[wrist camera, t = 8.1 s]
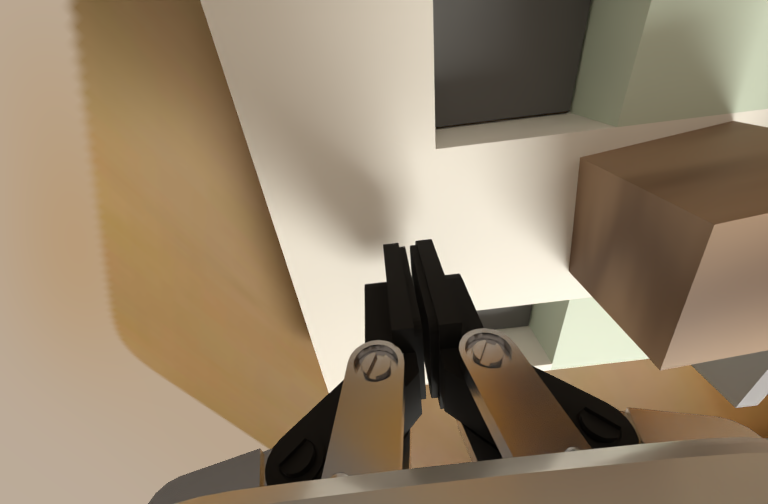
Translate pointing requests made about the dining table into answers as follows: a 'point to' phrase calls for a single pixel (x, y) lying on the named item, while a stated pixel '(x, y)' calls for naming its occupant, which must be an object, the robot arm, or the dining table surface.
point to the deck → (474, 146)
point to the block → (679, 242)
